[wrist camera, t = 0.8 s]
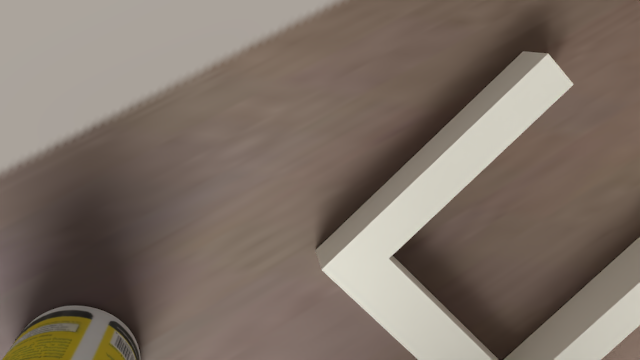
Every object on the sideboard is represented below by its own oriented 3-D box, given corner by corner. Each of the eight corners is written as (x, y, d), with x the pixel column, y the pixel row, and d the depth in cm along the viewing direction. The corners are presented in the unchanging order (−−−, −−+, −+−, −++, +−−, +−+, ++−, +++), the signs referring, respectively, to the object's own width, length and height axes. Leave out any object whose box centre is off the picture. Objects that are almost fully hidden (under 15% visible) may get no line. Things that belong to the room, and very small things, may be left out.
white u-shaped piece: (680, 241, 26) (715, 258, 24) (488, 413, 27) (507, 442, 25) (522, 51, 23) (548, 53, 21) (315, 250, 24) (321, 269, 22)
